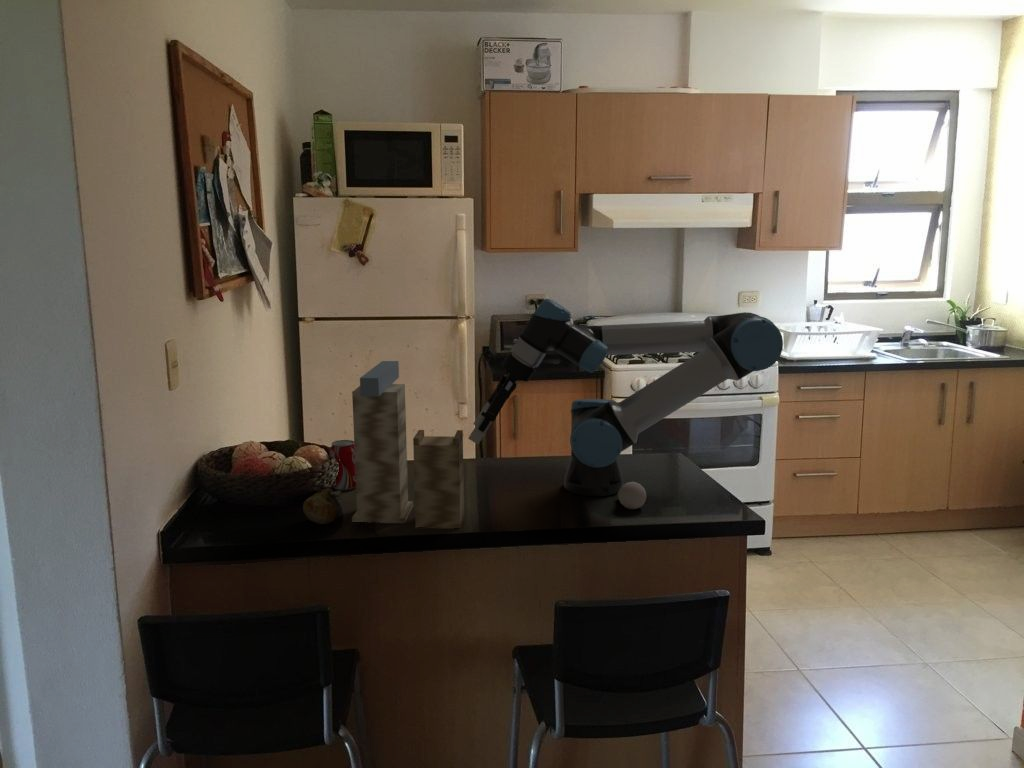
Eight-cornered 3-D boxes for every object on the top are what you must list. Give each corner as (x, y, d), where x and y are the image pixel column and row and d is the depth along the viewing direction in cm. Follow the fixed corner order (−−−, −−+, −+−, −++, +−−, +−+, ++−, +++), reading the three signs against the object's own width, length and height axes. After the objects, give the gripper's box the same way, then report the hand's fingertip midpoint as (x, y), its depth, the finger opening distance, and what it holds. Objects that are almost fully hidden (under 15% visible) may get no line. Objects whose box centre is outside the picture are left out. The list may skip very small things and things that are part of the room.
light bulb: (610, 479, 205) (625, 479, 194) (635, 483, 206) (651, 483, 195) (607, 506, 204) (622, 508, 193) (632, 509, 205) (648, 511, 195)
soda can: (352, 492, 211) (350, 446, 209) (326, 491, 212) (324, 445, 210) (362, 484, 218) (361, 439, 216) (337, 483, 219) (335, 438, 217)
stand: (413, 506, 200) (409, 383, 195) (404, 523, 188) (400, 393, 183) (363, 505, 201) (358, 383, 195) (352, 522, 189) (346, 392, 184)
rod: (398, 377, 203) (398, 361, 202) (378, 396, 179) (378, 378, 179) (382, 377, 203) (382, 361, 202) (360, 396, 180) (359, 378, 179)
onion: (314, 515, 194) (313, 482, 193) (345, 518, 192) (344, 485, 190) (296, 526, 187) (295, 492, 186) (328, 530, 185) (326, 495, 183)
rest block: (464, 516, 193) (462, 430, 189) (460, 528, 185) (458, 438, 181) (421, 515, 193) (418, 429, 190) (415, 528, 185) (413, 438, 182)
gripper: (511, 343, 208) (467, 413, 212) (507, 360, 183) (456, 439, 187) (536, 359, 208) (492, 428, 212) (535, 378, 184) (485, 456, 188)
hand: (475, 433), depth 200 cm, fingers open, 13 cm apart
